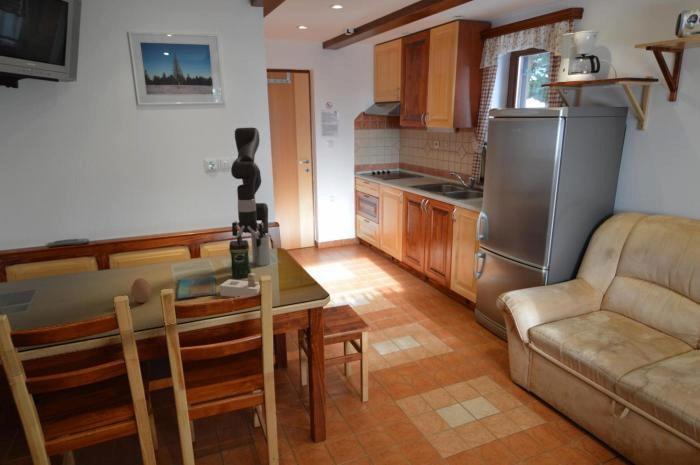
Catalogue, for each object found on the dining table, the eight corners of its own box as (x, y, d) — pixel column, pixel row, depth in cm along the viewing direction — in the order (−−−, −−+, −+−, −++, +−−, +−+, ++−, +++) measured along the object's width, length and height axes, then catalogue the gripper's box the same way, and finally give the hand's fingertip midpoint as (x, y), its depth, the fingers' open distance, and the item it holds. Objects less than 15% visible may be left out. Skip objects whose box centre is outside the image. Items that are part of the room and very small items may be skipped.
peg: (250, 294, 195) (249, 273, 192) (257, 294, 194) (255, 273, 192) (247, 296, 192) (246, 275, 189) (254, 297, 191) (252, 275, 189)
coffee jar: (251, 273, 221) (249, 238, 217) (250, 278, 214) (248, 242, 209) (232, 274, 220) (229, 239, 215) (230, 279, 212) (227, 243, 207)
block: (229, 289, 200) (228, 279, 199) (265, 293, 196) (265, 282, 194) (220, 296, 192) (219, 285, 191) (257, 300, 188) (257, 289, 187)
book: (215, 279, 214) (215, 274, 214) (217, 297, 193) (217, 291, 192) (178, 283, 209) (177, 278, 208) (176, 302, 187) (175, 296, 187)
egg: (130, 302, 186) (127, 278, 184) (148, 297, 191) (145, 274, 189) (136, 307, 181) (133, 283, 178) (155, 302, 186) (152, 278, 183)
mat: (234, 279, 212) (234, 278, 212) (253, 281, 210) (253, 280, 210) (224, 287, 203) (223, 286, 203) (243, 289, 200) (243, 288, 200)
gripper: (266, 208, 185) (268, 244, 189) (236, 206, 188) (238, 242, 193) (258, 212, 178) (260, 249, 182) (227, 210, 181) (230, 247, 186)
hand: (249, 246), depth 187 cm, fingers open, 8 cm apart
